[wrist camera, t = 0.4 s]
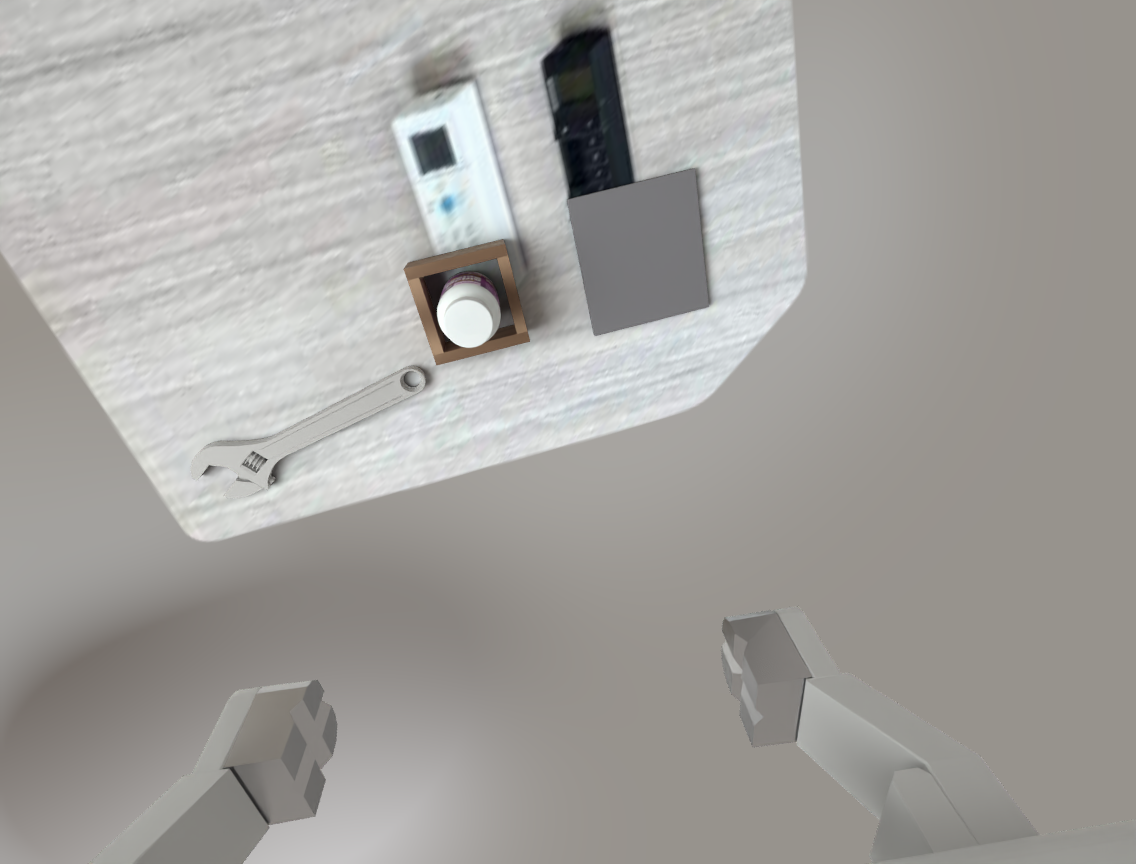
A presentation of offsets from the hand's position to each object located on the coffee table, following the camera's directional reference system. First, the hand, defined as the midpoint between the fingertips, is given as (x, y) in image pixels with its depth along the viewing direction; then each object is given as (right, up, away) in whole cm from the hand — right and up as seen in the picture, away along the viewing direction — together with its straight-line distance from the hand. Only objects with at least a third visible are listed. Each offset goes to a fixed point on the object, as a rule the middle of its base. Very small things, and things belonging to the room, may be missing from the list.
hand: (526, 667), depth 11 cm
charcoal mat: (+8, +22, +43) cm, 49 cm away
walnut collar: (-9, +17, +42) cm, 47 cm away
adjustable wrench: (-25, +5, +46) cm, 53 cm away
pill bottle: (-9, +18, +43) cm, 47 cm away
